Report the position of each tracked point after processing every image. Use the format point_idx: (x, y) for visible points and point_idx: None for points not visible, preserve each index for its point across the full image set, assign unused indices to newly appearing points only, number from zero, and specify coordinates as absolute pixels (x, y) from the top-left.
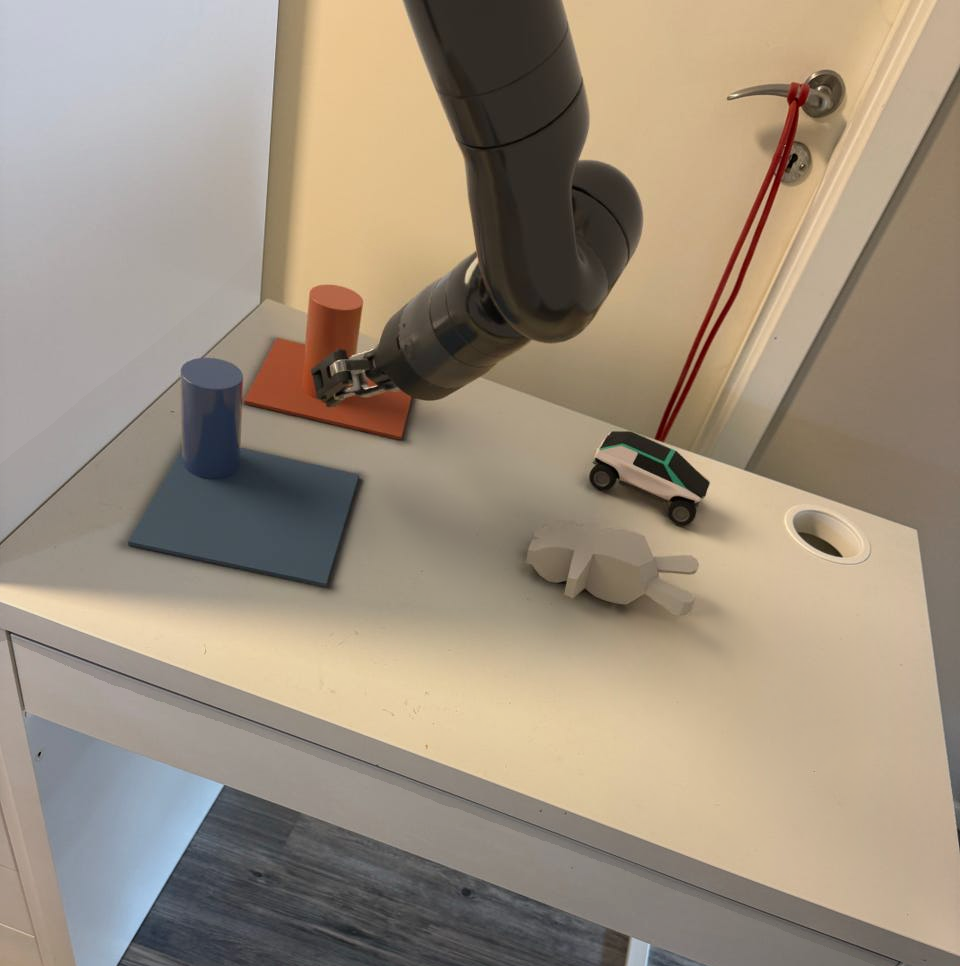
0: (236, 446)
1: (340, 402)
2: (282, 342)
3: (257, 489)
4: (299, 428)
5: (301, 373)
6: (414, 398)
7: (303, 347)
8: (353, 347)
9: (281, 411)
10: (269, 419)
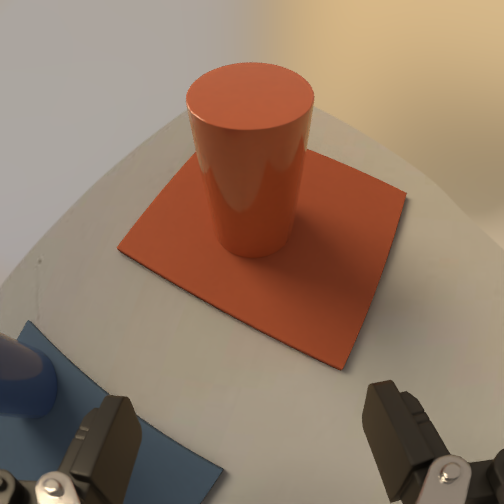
0: (20, 411)
1: (130, 473)
2: None
3: (62, 457)
4: (171, 320)
5: None
6: (366, 434)
7: None
8: (285, 191)
9: (159, 274)
10: (136, 291)
